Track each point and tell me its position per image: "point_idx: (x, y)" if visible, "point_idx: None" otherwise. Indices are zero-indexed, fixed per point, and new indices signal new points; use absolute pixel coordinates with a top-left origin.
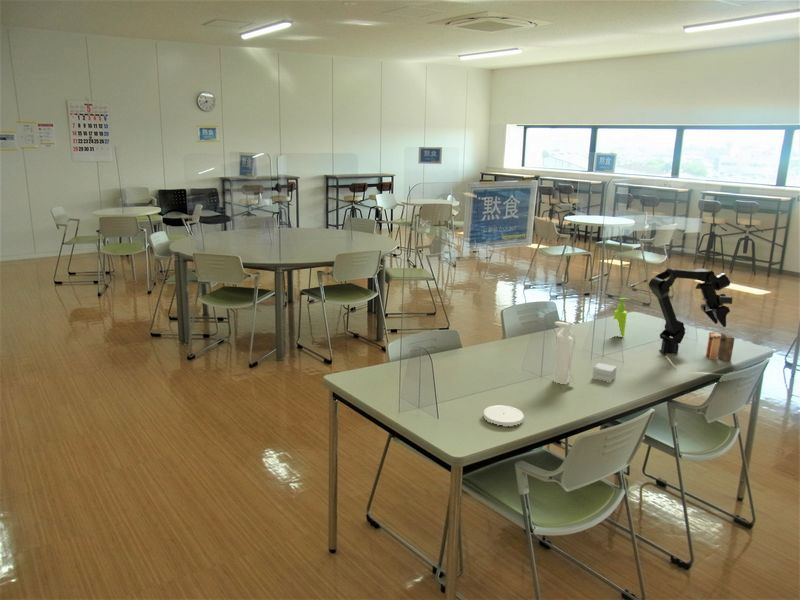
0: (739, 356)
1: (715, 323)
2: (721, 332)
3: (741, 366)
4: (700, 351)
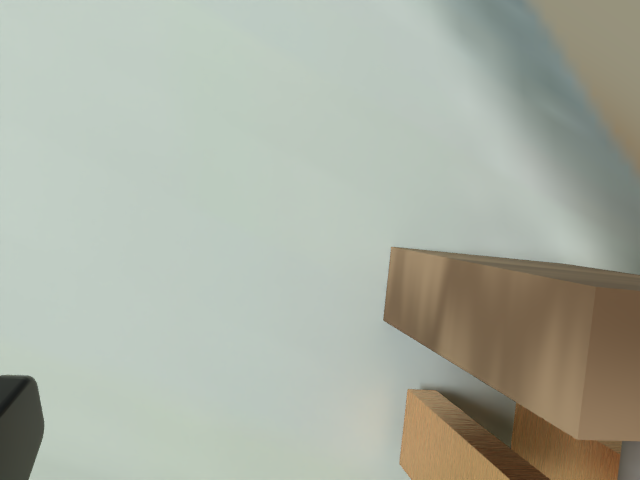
0: (338, 35)
1: (38, 449)
2: (582, 437)
3: (636, 187)
4: (205, 446)
